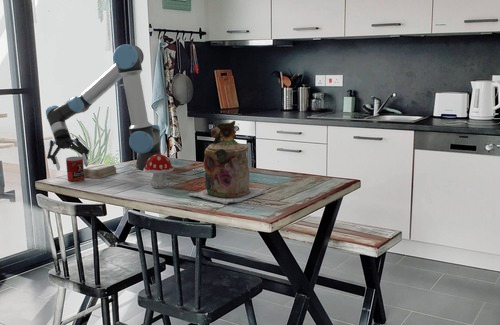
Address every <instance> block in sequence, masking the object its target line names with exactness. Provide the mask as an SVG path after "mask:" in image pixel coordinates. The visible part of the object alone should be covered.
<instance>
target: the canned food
mask: <svg viewBox="0 0 500 325" xmlns="http://www.w3.org/2000/svg"><path fill="white" fill-rule="evenodd" d="M65 160H66V162H65V164H66V174H67V180H68V182H71V183H78V182H83V181H84V180H85V177H84V168H83V167H84V161H83V157H82V156H69V157H66V158H65Z"/></svg>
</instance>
